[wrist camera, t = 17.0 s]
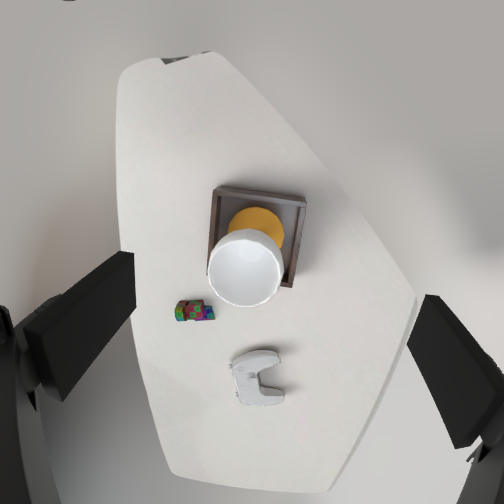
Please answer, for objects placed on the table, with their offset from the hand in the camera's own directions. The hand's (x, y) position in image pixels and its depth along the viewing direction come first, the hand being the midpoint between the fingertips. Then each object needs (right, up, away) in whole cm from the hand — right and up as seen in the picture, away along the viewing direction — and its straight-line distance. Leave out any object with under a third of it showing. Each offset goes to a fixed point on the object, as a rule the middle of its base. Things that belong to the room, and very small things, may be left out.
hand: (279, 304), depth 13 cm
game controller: (0, -22, +47) cm, 52 cm away
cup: (-1, +5, +37) cm, 37 cm away
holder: (-1, +5, +37) cm, 38 cm away
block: (-11, -8, +43) cm, 46 cm away
